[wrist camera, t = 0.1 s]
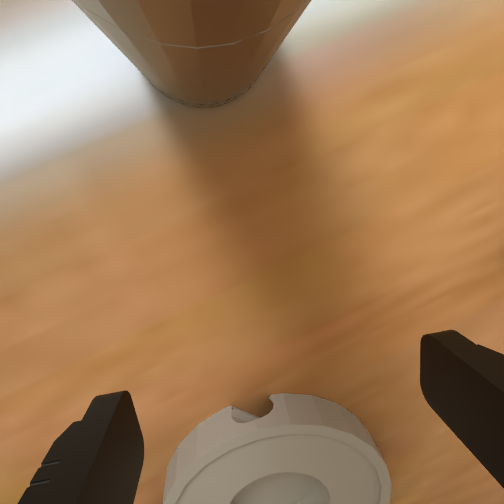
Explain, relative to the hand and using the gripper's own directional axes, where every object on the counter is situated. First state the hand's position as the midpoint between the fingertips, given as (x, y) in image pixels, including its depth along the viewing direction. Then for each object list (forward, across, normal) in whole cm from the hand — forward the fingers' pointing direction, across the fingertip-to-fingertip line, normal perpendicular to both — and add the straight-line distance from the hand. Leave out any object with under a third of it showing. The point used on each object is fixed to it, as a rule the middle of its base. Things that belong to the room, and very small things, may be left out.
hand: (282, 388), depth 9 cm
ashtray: (+20, 0, +27) cm, 34 cm away
